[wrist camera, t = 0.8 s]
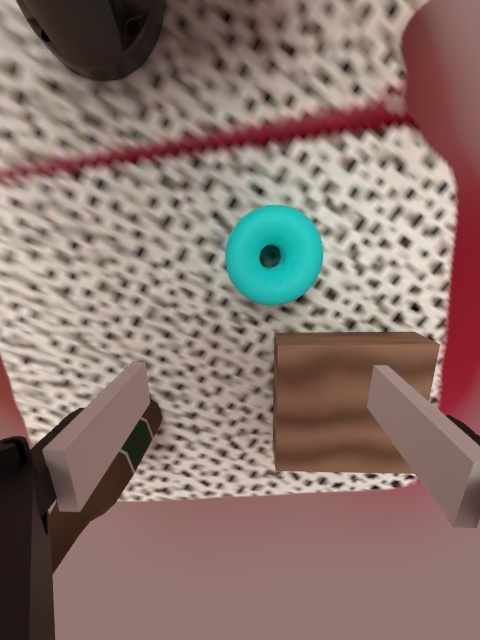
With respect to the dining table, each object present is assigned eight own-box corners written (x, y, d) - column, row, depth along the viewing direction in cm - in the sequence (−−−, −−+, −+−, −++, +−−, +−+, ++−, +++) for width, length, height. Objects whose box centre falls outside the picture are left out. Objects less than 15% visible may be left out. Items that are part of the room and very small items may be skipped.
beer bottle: (116, 429, 43) (-43, 638, 20) (118, 389, 41) (-58, 571, 18) (161, 437, 43) (55, 655, 20) (165, 397, 41) (52, 590, 18)
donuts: (268, 178, 23) (348, 249, 24) (263, 200, 32) (320, 249, 34) (203, 266, 25) (280, 326, 26) (217, 262, 35) (272, 306, 36)
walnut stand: (274, 332, 37) (278, 345, 32) (414, 331, 36) (439, 344, 31) (272, 445, 42) (275, 470, 37) (395, 447, 41) (414, 473, 36)
